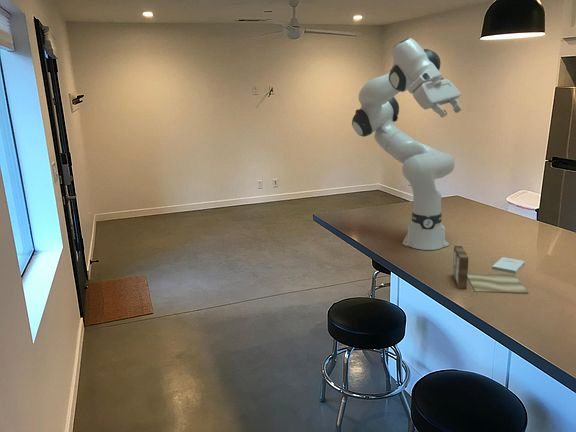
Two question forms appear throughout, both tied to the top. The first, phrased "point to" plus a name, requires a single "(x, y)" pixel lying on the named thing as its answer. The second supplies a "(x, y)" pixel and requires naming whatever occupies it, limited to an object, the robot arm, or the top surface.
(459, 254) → the walnut picture frame
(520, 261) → the external hard drive
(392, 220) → the top surface
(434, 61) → the robot arm
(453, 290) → the top surface
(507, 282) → the beige square tray
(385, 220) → the top surface
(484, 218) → the top surface
